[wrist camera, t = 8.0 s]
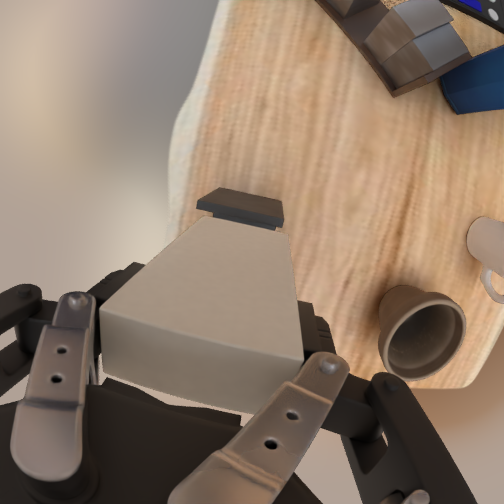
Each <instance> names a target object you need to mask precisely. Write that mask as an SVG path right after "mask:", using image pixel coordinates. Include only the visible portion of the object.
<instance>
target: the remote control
mask: <svg viewBox="0 0 504 504" xmlns="http://www.w3.org/2000/svg"><path fill="white" fill-rule="evenodd" d="M439 1H440V2H441V3H444V4H446V5H448V6H451V7H453V8H455V9H457V10H460V11H462V12H464V13H466V14H468V15H470V16H472V17H474V18H476V19H478V20H480V21H482V22H484V23H486V24H487V25H489V26H491V27H493V28H495V29H496V30H498V31H500V32H501V33H503V34H504V0H439Z"/></svg>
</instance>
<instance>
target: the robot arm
mask: <svg viewBox="0 0 504 504" xmlns="http://www.w3.org/2000/svg"><path fill="white" fill-rule="evenodd" d="M144 266H145V265H144V264H140V263H137V262H133V263H132V264H131V265H129V266H128V267H127V268H126V269H124V270H118V271H115V272H112V273H110V274H109V275H107V276H106V277H105V279H102V280H101V281H100V282H99V283H97V284H96V285H95V286H93V287H92V288H91V289H90V290H88V291H87V292H80V291H79V292H77V291H75V292H69V293H66V294H64V295H62V296H61V297H60V299H59V302H55V301H48V300H42V291H41V289H40V288H39V287H38V286H35V285H32V284H20V285H17V286H14V287H12V288H10V289H8V290H6V291H4V292H2V293H1V294H0V335H1V334H3V333H4V332H6V331H7V330H9V329H11V328H12V327H14V328H15V333H16V337H17V340H15V341H14V342H13V343H11V344H10V345H8V346H7V347H5V348H4V349H2V350H1V351H0V397H1V396H2V395H3V394H5V393H6V392H7V391H8V390H9V389H11V388H12V387H13V386H14V385H16V384H17V383H18V382H19V381H21V380H22V379H23V378H24V377H26V376H27V375H28V374H29V373H30V375H29V379H28V383H27V387H26V392H25V396H24V398H23V399H21V400H19V401H15V402H12V403H8V404H4V405H0V504H323V503H322V502H321V501H320V500H319V499H318V498H317V497H316V496H315V495H314V494H313V493H312V492H311V490H310V489H309V488H308V487H307V486H306V485H305V484H304V483H303V482H302V481H301V479H300V478H299V477H298V476H297V475H296V474H295V472H294V470H295V469H296V467H297V466H298V464H299V463H300V461H301V459H302V458H303V456H304V455H305V453H306V451H307V449H308V448H309V446H310V445H311V443H312V441H313V440H314V438H315V436H316V434H317V433H318V431H319V429H320V428H323V429H326V430H328V431H332V432H334V433H337V434H340V435H341V440H342V443H343V446H344V449H345V452H346V455H347V457H348V461H349V464H350V467H351V469H352V473H353V475H354V478H355V482H356V485H357V487H358V490H359V494H360V497H361V500H362V503H363V504H477V502H476V500H475V498H474V496H473V494H472V492H471V490H470V489H469V487H468V485H467V483H466V481H465V480H464V478H463V476H462V474H461V473H460V471H459V469H458V467H457V466H456V464H455V462H454V460H453V459H452V457H451V455H450V453H449V452H448V450H447V448H446V447H445V445H444V443H443V442H442V440H441V438H440V437H439V435H438V433H437V432H436V430H435V428H434V427H433V425H432V423H431V422H430V420H429V419H428V417H427V416H426V414H425V412H424V411H423V409H422V408H421V406H420V404H419V403H418V401H417V399H416V398H415V396H414V395H413V393H412V392H411V390H410V389H409V387H408V385H407V384H406V383H405V382H404V381H403V380H402V379H401V378H400V377H398V376H396V375H394V374H391V373H387V372H379V373H376V374H375V375H374V376H373V377H372V379H371V381H368V380H365V379H362V378H359V377H356V376H354V375H352V374H350V373H349V371H350V368H349V365H348V363H347V362H346V361H345V360H344V359H343V358H341V357H340V356H338V355H337V354H336V350H335V346H334V343H333V339H332V335H331V333H330V328H329V324H328V323H327V322H326V321H325V320H324V319H323V318H322V317H319V316H315V314H314V309H313V305H312V303H308V302H303V301H298V300H297V303H298V311H299V319H300V327H301V336H302V345H303V354H304V362H303V364H302V367H301V369H300V371H299V372H298V373H297V374H296V376H295V377H294V378H293V379H292V381H291V382H290V381H288V380H285V381H284V382H283V383H282V384H281V386H280V387H279V388H278V389H277V390H276V391H275V393H274V394H273V395H272V396H271V397H270V398H269V399H268V401H267V402H266V403H265V404H264V405H263V406H262V407H261V408H260V410H259V411H258V412H257V413H256V414H255V415H254V416H253V417H252V418H251V420H250V421H249V422H248V423H247V424H246V425H245V426H244V427H243V426H240V422H241V415H236V414H232V413H227V412H222V411H218V410H214V409H209V408H201V407H200V408H199V407H186V406H174V405H168V404H166V403H164V402H162V401H160V400H158V399H156V398H154V397H153V396H151V395H149V394H147V393H145V392H144V391H142V390H140V389H138V388H136V387H133V386H130V385H127V384H124V383H122V382H118V381H116V380H113V379H111V378H108V377H107V378H106V379H105V381H104V382H103V384H102V385H99V355H100V353H101V338H100V317H99V308H100V307H101V306H102V305H103V304H104V303H105V302H106V301H107V300H108V299H109V298H110V297H111V296H112V295H113V294H114V293H116V292H117V291H118V290H119V289H120V288H121V287H122V286H123V285H124V284H125V283H126V282H128V281H129V280H130V279H131V278H132V277H133V276H134V275H135V274H136V273H138V272H139V271H140V270H141V269H142V268H143V267H144ZM383 431H384V434H385V435H386V438H387V441H388V447H387V445H386V443H385V440H384V439H383V436H382V433H383Z"/></svg>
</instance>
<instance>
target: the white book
mask: <svg viewBox="0 0 504 504" xmlns="http://www.w3.org/2000/svg"><path fill="white" fill-rule="evenodd" d="M99 317H100V338H101V353H102V363H103V364H102V365H103V372H104V373H107V374H109V375H112V376H115V377H117V378H120V379H123V380H126V381H129V382H132V383H134V384H138V385H141V386H144V387H147V388H150V389H153V390H156V391H160V392H163V393H166V394H170V395H173V396H177V397H180V398H184V399H187V400H191V401H195V402H199V403H203V404H207V405H211V406H216V407H220V408H225V409H229V410H234V411H239V412H244V413H249V414H254V415H255V414H256V413H257V412H258V411H259V410H260V408H261V407H262V406H263V405H264V404H265V403H266V402H267V401H268V399H269V398H270V397H271V396H272V395H273V394H274V393H275V391H276V390H277V389H278V388H279V387H280V386H281V384H282V383H283V382H284V381H285V380H288V381H290V382H291V381H292V379H293V378H294V377H295V376H296V374H297V373H298V372H299V371H300V369H301V367H302V364H303V362H304V354H303V345H302V336H301V327H300V319H299V311H298V303H297V295H296V287H295V280H294V272H293V265H292V258H291V251H290V244H289V237H288V234H286V233H281V232H277V231H273V230H268V229H264V228H259V227H255V226H250V225H246V224H241V223H237V222H232V221H228V220H223V219H218V218H214V217H209V216H203V217H201V218H200V219H199V220H198V221H197V222H195V223H194V224H193V225H192V226H191V227H189V228H188V229H187V230H186V231H185V232H183V233H182V234H181V235H180V236H179V237H178V238H176V239H175V240H174V241H173V242H172V243H171V244H169V245H168V246H167V247H166V248H165V249H164V250H162V251H161V252H160V253H159V254H158V255H157V256H156V257H154V258H153V259H152V260H151V261H150V262H149V263H148V264H147V265H145V266H144V267H143V268H142V269H141V270H140V271H139V272H138V273H136V274H135V275H134V276H133V277H132V278H131V279H130V280H129V281H128V282H126V283H125V284H124V285H123V286H122V287H121V288H120V289H119V290H118V291H117V292H116V293H114V294H113V295H112V296H111V297H110V298H109V299H108V300H107V301H106V302H105V303H104V304H103V305H102V306H101V307H100V308H99Z"/></svg>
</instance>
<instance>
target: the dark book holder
mask: <svg viewBox="0 0 504 504" xmlns="http://www.w3.org/2000/svg"><path fill="white" fill-rule="evenodd" d="M196 209H200V210H205V211H209V212H214V213H213V217H214V218H218V219H223V220H228V221H232V222H237V223H241V224H246V225H250V226H255V227H259V228H264V229H268V230H273V231H275V229H276V227H280V228H282V226H283V222H284V215H283V207H282V201H279V200H274V199H270V198H266V197H261V196H257V195H252V194H248V193H243V192H239V191H234V190H229V189H225V188H218V189H216V190H214V191H212V192H211V193H209V194H207V195H206V196H204V197H202V198H200V199H199V200H198V201H197V207H196Z"/></svg>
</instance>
